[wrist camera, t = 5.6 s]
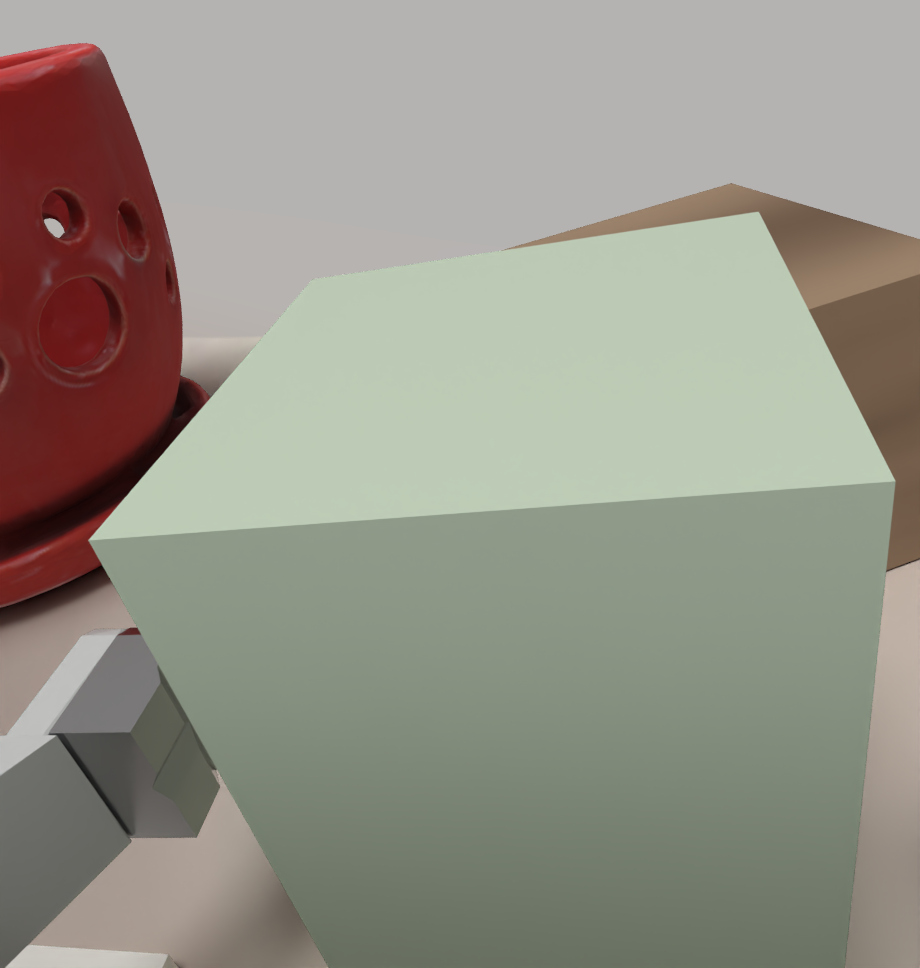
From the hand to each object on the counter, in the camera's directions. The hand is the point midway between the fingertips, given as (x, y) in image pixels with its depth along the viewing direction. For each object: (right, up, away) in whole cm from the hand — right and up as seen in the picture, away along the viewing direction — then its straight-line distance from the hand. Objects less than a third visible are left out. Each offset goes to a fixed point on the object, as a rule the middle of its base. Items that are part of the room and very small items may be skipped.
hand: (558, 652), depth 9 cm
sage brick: (+1, -5, +2) cm, 5 cm away
